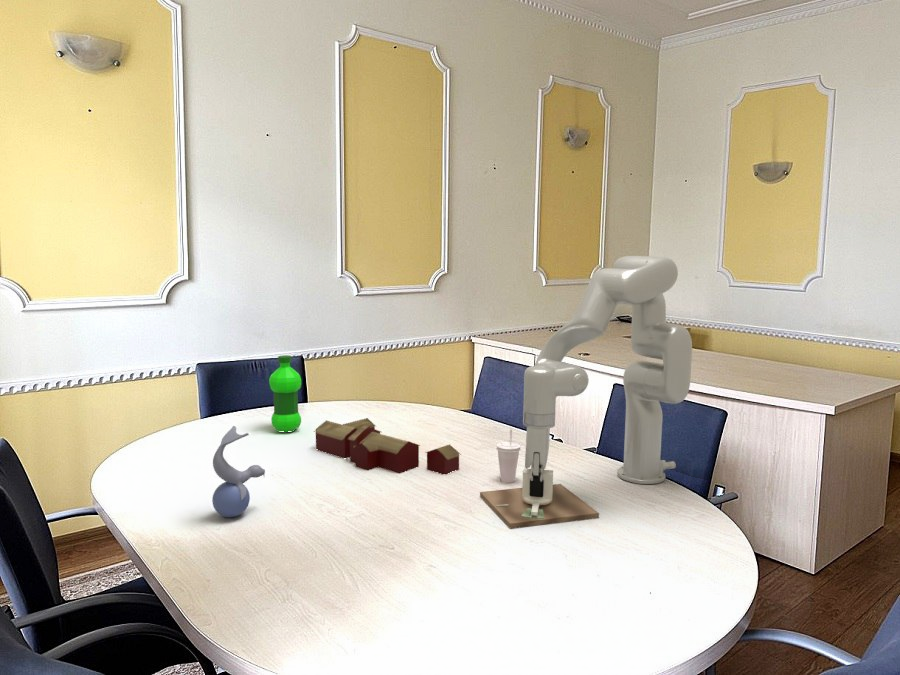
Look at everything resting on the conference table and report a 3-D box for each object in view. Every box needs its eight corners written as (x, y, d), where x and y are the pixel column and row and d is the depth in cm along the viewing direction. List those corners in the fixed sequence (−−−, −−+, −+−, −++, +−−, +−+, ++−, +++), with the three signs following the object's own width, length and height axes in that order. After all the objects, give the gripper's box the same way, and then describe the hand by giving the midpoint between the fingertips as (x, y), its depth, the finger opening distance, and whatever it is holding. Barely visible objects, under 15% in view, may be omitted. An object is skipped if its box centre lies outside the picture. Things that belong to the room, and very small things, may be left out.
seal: (273, 512, 161) (271, 429, 159) (221, 526, 154) (217, 438, 151) (258, 501, 168) (255, 421, 165) (207, 514, 160) (203, 430, 157)
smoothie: (518, 485, 181) (519, 433, 179) (494, 483, 182) (495, 431, 180) (521, 477, 187) (522, 426, 185) (497, 475, 188) (498, 425, 186)
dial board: (560, 488, 179) (560, 482, 179) (598, 517, 160) (599, 512, 160) (479, 496, 173) (480, 491, 172) (510, 528, 154) (510, 522, 154)
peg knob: (524, 493, 170) (524, 465, 169) (552, 495, 169) (553, 467, 168) (518, 514, 157) (519, 484, 156) (549, 517, 156) (550, 487, 155)
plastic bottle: (299, 435, 224) (297, 359, 221) (266, 435, 225) (264, 359, 221) (305, 427, 234) (304, 354, 231) (274, 426, 235) (272, 353, 231)
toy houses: (308, 452, 208) (308, 419, 206) (359, 438, 223) (359, 407, 222) (419, 488, 179) (419, 450, 178) (468, 468, 195) (469, 433, 193)
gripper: (526, 409, 172) (524, 480, 175) (519, 426, 156) (517, 504, 159) (556, 411, 171) (554, 483, 173) (553, 428, 155) (550, 507, 157)
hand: (537, 492), depth 166 cm, fingers closed on peg knob, 3 cm apart
